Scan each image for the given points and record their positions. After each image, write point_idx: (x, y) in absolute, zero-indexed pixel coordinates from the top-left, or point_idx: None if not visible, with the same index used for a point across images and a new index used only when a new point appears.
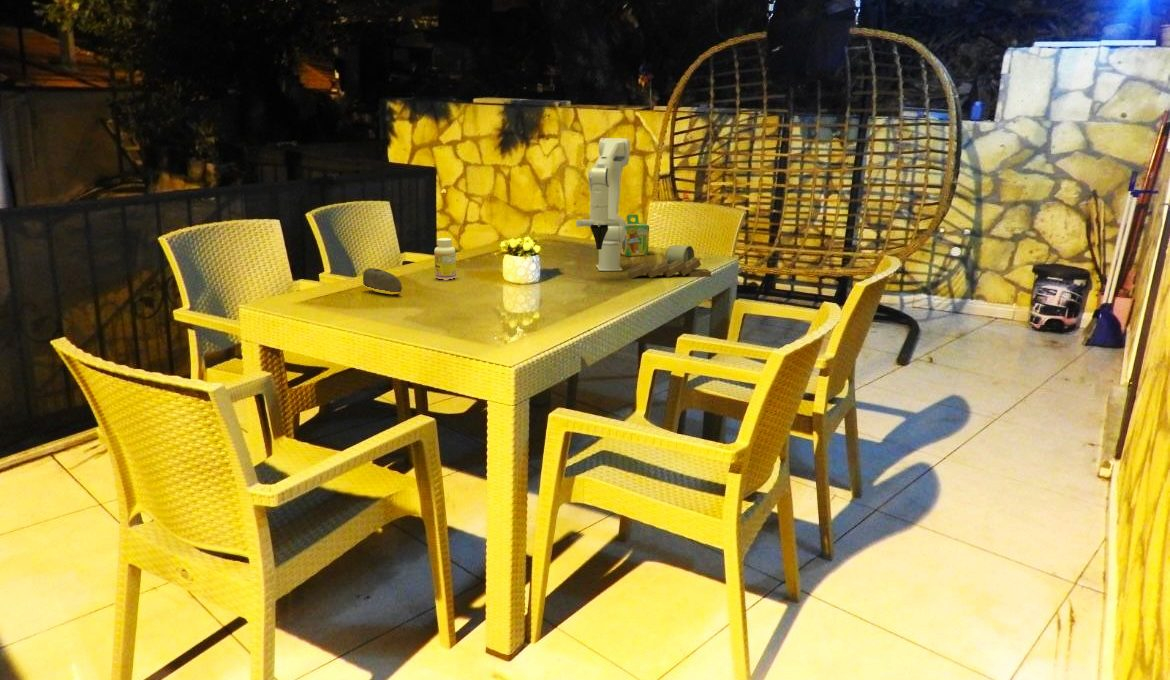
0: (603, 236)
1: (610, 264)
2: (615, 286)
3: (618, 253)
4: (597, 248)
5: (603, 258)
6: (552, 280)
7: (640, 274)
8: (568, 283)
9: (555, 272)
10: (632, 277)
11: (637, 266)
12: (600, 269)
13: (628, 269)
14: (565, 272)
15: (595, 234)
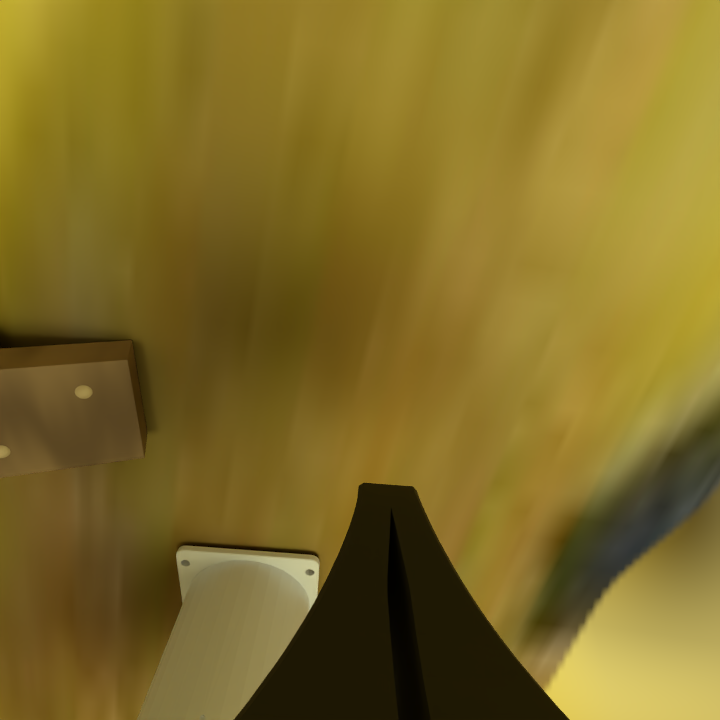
0: (325, 632)
1: (242, 587)
2: (296, 43)
3: (163, 666)
4: (415, 492)
5: (279, 637)
6: (710, 370)
7: (48, 347)
8: (649, 249)
9: (579, 568)
10: (122, 342)
11: (50, 457)
12: (310, 565)
13: (131, 454)
14: (522, 560)
15: (512, 685)
